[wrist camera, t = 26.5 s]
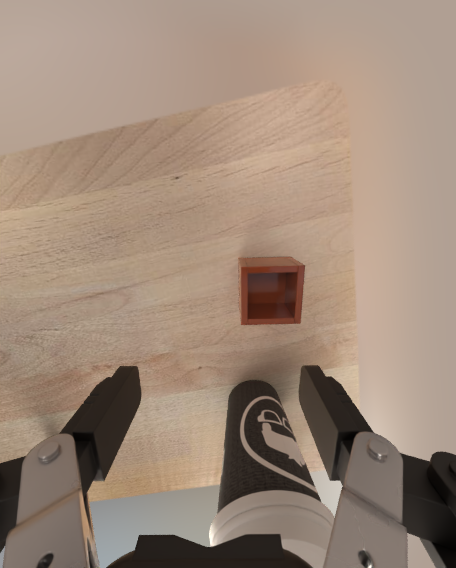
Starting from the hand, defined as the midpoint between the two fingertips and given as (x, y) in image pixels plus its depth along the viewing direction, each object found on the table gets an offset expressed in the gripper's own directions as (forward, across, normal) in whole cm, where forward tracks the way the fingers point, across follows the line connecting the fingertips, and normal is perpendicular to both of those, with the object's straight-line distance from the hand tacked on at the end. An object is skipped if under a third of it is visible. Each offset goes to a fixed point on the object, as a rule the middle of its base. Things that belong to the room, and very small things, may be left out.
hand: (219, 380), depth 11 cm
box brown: (+15, -4, -1) cm, 15 cm away
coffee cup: (+15, -4, +15) cm, 22 cm away
